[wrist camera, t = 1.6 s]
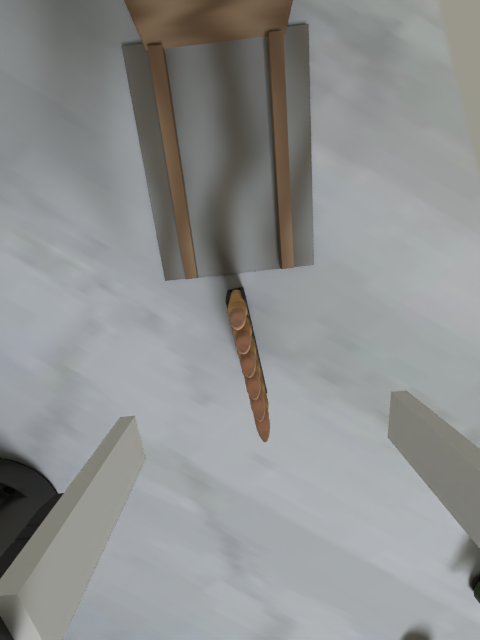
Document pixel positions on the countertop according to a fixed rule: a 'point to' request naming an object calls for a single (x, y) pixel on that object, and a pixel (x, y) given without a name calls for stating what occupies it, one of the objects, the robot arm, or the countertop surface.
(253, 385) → the ammunition clip
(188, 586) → the countertop surface
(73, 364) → the countertop surface
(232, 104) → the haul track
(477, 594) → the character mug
